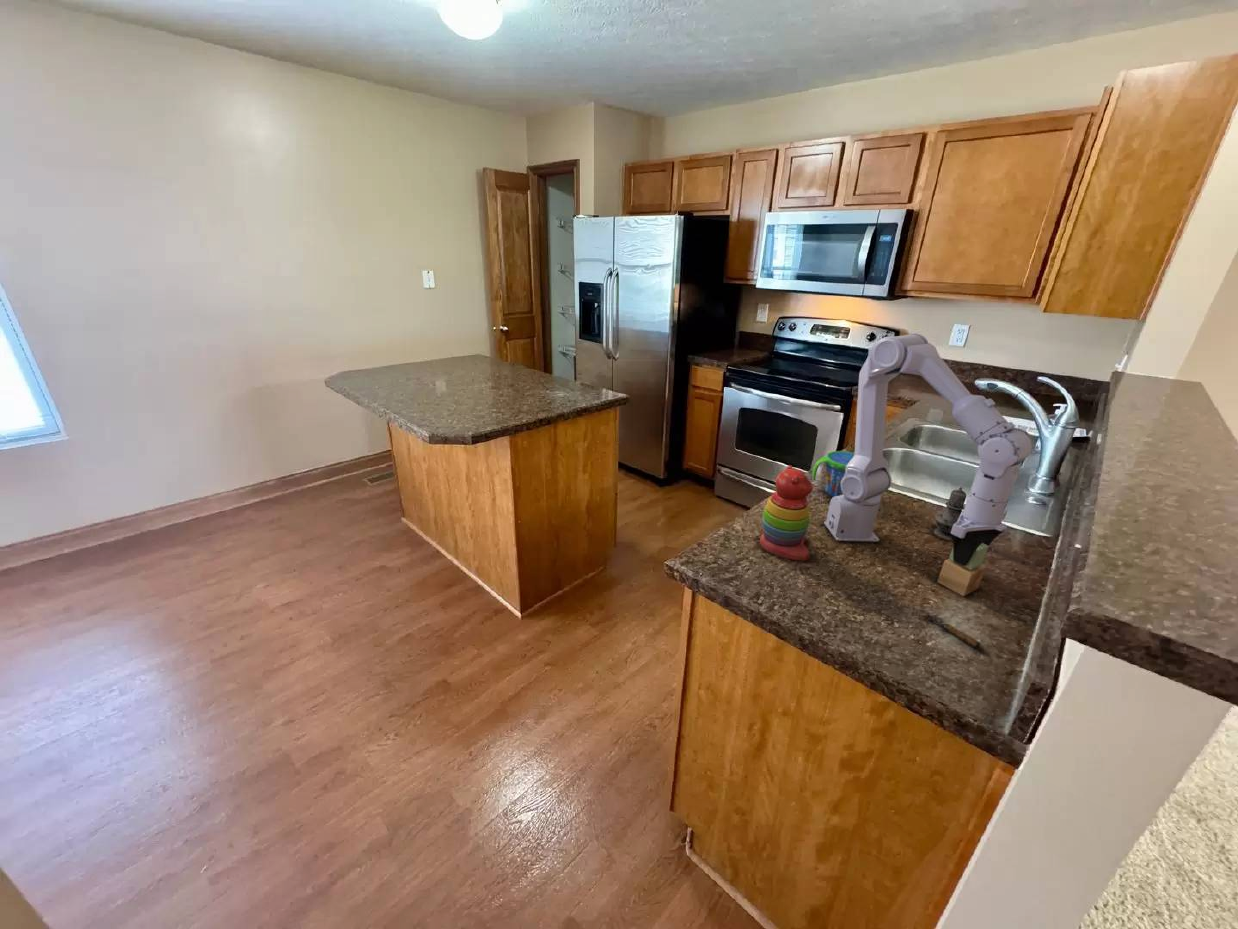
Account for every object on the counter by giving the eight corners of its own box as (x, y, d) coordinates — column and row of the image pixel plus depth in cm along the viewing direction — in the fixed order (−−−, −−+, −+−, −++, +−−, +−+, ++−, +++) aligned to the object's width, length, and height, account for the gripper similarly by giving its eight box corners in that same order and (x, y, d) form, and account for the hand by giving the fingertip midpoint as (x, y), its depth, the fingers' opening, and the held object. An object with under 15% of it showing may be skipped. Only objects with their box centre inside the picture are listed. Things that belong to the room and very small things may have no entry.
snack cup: (869, 489, 137) (878, 454, 132) (876, 507, 127) (885, 470, 123) (808, 481, 140) (814, 447, 136) (809, 498, 131) (817, 462, 127)
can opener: (979, 647, 83) (981, 642, 83) (970, 651, 82) (972, 646, 82) (929, 613, 91) (931, 608, 90) (920, 616, 90) (922, 611, 90)
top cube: (970, 570, 94) (977, 551, 92) (948, 559, 97) (955, 541, 96) (982, 564, 96) (989, 545, 94) (960, 553, 99) (966, 535, 97)
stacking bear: (810, 562, 105) (826, 484, 97) (759, 556, 106) (771, 478, 99) (804, 535, 114) (818, 462, 107) (757, 530, 116) (768, 457, 109)
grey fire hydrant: (959, 544, 112) (975, 495, 108) (929, 535, 116) (943, 487, 111) (962, 533, 117) (978, 486, 112) (933, 525, 120) (947, 478, 115)
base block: (963, 596, 96) (971, 574, 94) (937, 582, 100) (944, 560, 98) (977, 588, 98) (986, 566, 96) (951, 574, 102) (958, 553, 100)
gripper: (991, 514, 84) (967, 582, 90) (1034, 496, 91) (1009, 560, 97) (948, 497, 90) (927, 561, 95) (991, 480, 97) (970, 542, 102)
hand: (966, 559), depth 96 cm, fingers closed on top cube, 4 cm apart
